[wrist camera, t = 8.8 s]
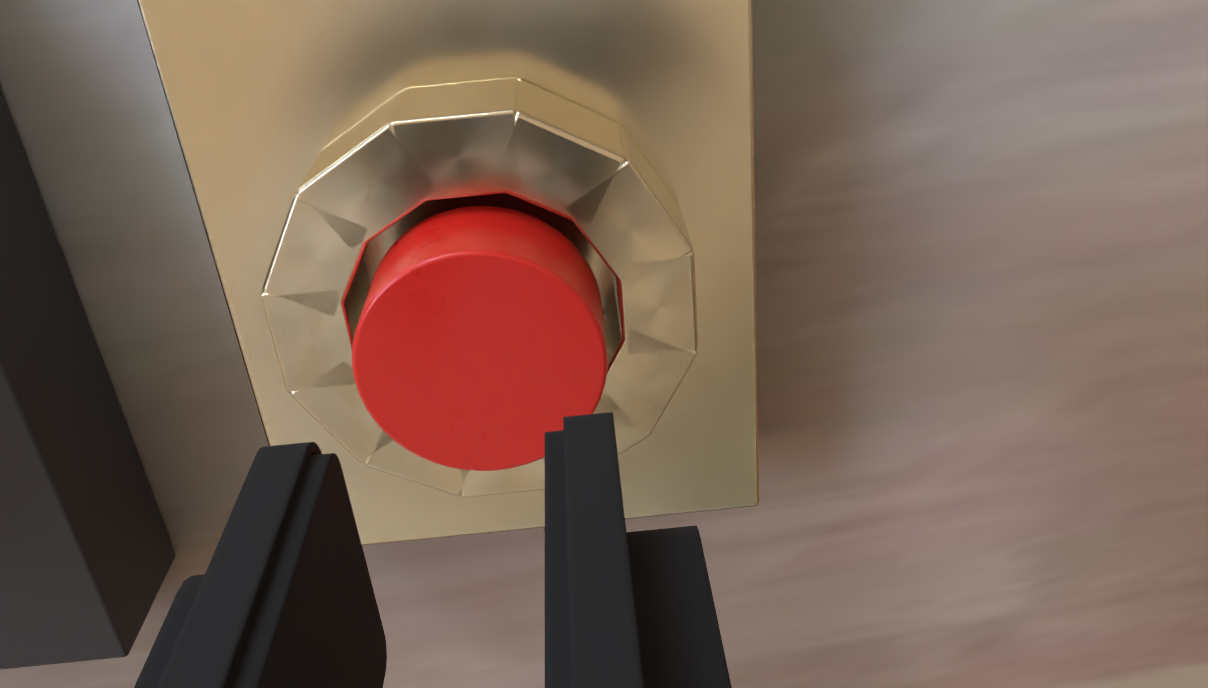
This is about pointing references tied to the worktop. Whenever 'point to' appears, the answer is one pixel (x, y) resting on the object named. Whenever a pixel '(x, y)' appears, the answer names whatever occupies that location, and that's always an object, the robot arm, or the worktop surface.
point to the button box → (482, 178)
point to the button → (480, 338)
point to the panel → (62, 457)
